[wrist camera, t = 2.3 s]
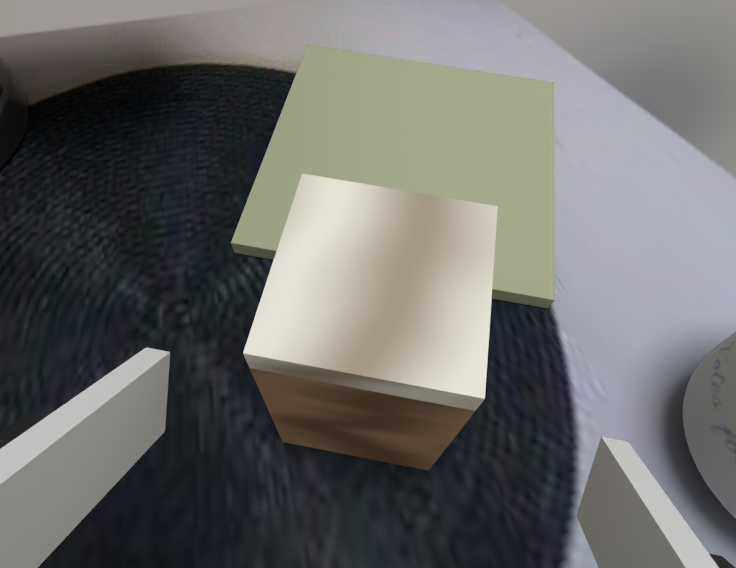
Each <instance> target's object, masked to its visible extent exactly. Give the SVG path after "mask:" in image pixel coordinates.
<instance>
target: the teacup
mask: <svg viewBox="0 0 736 568" xmlns="http://www.w3.org/2000/svg"><path fill="white" fill-rule="evenodd" d="M683 424H684V431H685V436H686V440H687V443H688V446H689V449H690V452H691V455H692V457H693V459H694V462H695V464H696V466H697V468H698V470H699V472H700V474H701V475H702V477H703V479H704V481H705V482H706V484H707V485H708V487H709V488H710V489H711V491H712V492H713V493H714V495H715V496H716V497H717V499H718V500H719V501H720V502H721V504H722V505H723V506H724V507H725V508H726V509H727V510H728V512H729V513H730V514H731V515H732V516H733V517H734V518H735V519H736V332H735V333H734V334H732V335H731V336H730V337H728V338H727V339H726V340H724V341H723V342H722V343H720V344H719V345H718V346H716V347H715V348H714V349H713V350H712V351H711V352H710V353H709V354H708V355H707V356H705V358H704V359H703V360H702V361H701V362H700V363H699V365H698V366H697V368H696V369H695V371H694V373H693V374H692V376H691V377H690V380H689V382H688V385H687V388H686V392H685V396H684V401H683Z"/></svg>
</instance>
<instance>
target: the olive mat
mask: <svg viewBox="0 0 736 568" xmlns="http://www.w3.org/2000/svg"><path fill="white" fill-rule="evenodd" d="M302 174H308V175H314V176H320V177H326V178H332V179H338V180H344V181H350V182H356V183H362V184H368V185H374V186H380V187H386V188H392V189H398V190H404V191H410V192H416V193H422V194H428V195H434V196H440V197H446V198H452V199H457V200H463V201H469V202H475V203H481V204H487V205H493V206H498V210H497V225H496V240H495V255H494V270H493V285H492V299H498V300H503V301H509V302H514V303H520V304H526V305H531V306H537V307H543V308H549V306H550V305H551V304H552V303H553V301H554V83H553V82H547V81H540V80H534V79H527V78H521V77H514V76H508V75H501V74H495V73H488V72H482V71H475V70H469V69H462V68H456V67H449V66H443V65H436V64H430V63H423V62H417V61H410V60H404V59H397V58H391V57H384V56H378V55H371V54H365V53H358V52H352V51H345V50H339V49H332V48H326V47H319V46H313V45H307V48H306V50H305V53H304V55H303V58H302V61H301V63H300V66H299V68H298V71H297V73H296V76H295V79H294V81H293V84H292V86H291V89H290V92H289V94H288V97H287V99H286V102H285V104H284V107H283V110H282V112H281V115H280V117H279V120H278V123H277V125H276V128H275V130H274V133H273V135H272V138H271V141H270V143H269V146H268V148H267V151H266V154H265V156H264V159H263V161H262V164H261V166H260V169H259V172H258V174H257V177H256V179H255V182H254V185H253V187H252V190H251V192H250V195H249V197H248V200H247V203H246V205H245V208H244V210H243V213H242V216H241V218H240V221H239V223H238V226H237V228H236V231H235V234H234V236H233V239H232V241H231V244H232V247H233V250H234V253H239V254H244V255H250V256H256V257H261V258H267V259H272V260H274V257H275V254H276V251H277V248H278V245H279V242H280V239H281V236H282V233H283V230H284V227H285V224H286V221H287V218H288V215H289V212H290V209H291V206H292V203H293V200H294V197H295V193H296V190H297V187H298V184H299V181H300V178H301V175H302Z"/></svg>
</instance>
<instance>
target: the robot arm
mask: <svg viewBox="0 0 736 568" xmlns="http://www.w3.org/2000/svg"><path fill="white" fill-rule="evenodd" d="M28 115H29V110H28V103H27V99H26V96H25V94H24V92H23V90H22V89H21V87H20V86H19V84H18V83H17V81H16V79H15V78H14V76H13V75H12V73H11V72H10V70H9V69H8V67H7V66H6V64H5V63H4V62H3V61H2V60H1V58H0V168H1V167H2V166H3V165H4V164H5V163H6V162H7V161H8V160H9V158H10V157H11V156H12V155H13V153H14V152H15V150H16V149H17V147H18V145H19V144H20V142H21V140H22V138H23V136H24V133H25V130H26V127H27V123H28ZM169 362H170V352H167V351H162V350H157V349H152V348H145V349H143V350H142V351H140V352H139V353H138V354H136V355H135V356H133V357H132V358H130V359H129V360H128V361H126V362H125V363H123V364H122V365H120V366H119V367H117V368H116V369H115V370H113V371H112V372H110V373H109V374H107V375H106V376H104V377H103V378H102V379H100V380H99V381H97V382H96V383H94V384H93V385H92V386H90V387H89V388H87V389H86V390H84V391H83V392H81V393H80V394H79V395H77V396H76V397H74V398H73V399H71V400H70V401H68V402H67V403H66V404H64V405H63V406H61V407H60V408H58V409H57V410H56V411H54V412H53V413H51V414H50V415H48V416H47V417H45V418H42V417H37V416H33V417H30V418H28V419H25V420H22V421H20V422H17V423H14V424H12V425H10V426H8V427H7V428H5V429H4V430H2V431H1V432H0V568H38V567H39V566H40V564H41V563H42V562H43V561H44V560H45V559H46V558H47V557H48V556H49V555H50V554H51V553H52V552H53V551H54V549H55V548H56V547H57V546H58V545H59V544H60V543H61V542H62V541H63V540H64V539H65V538H66V537H67V536H68V534H69V533H70V532H71V531H72V530H73V529H74V528H75V527H76V526H77V525H78V524H79V523H80V522H81V521H82V519H83V518H84V517H85V516H86V515H87V514H88V513H89V512H90V511H91V510H92V509H93V508H94V507H95V506H96V504H97V503H98V502H99V501H100V500H101V499H102V498H103V497H104V496H105V495H106V494H107V493H108V492H109V491H110V489H111V488H112V487H113V486H114V485H115V484H116V483H117V482H118V481H119V480H120V479H121V478H122V477H123V476H124V474H125V473H126V472H127V471H128V470H129V469H130V468H131V467H132V466H133V465H134V464H135V463H136V462H137V461H138V459H139V458H140V457H141V456H142V455H143V454H144V453H145V452H146V451H147V450H148V449H149V448H150V447H151V446H152V444H153V443H154V442H155V441H156V440H157V439H158V438H159V437H160V436H161V435H162V434H163V433H164V432H165V422H166V407H167V392H168V377H169ZM577 518H578V520H579V523H580V525H581V527H582V530H583V532H584V534H585V537H586V539H587V541H588V544H589V546H590V548H591V551H592V553H593V555H594V557H595V560H596V562H597V564H598V567H599V568H735V567H734V566H733V565H731V564H730V563H729V562H728V561H727V560H726V559H724V558H723V557H722V556H718V555H713V554H709V553H708V552H707V550H706V549H705V548H704V546H703V545H702V543H701V542H700V541H699V539H698V538H697V537H696V535H695V534H694V532H693V531H692V530H691V528H690V527H689V526H688V524H687V523H686V521H685V520H684V519H683V517H682V516H681V514H680V513H679V512H678V510H677V509H676V508H675V506H674V505H673V503H672V502H671V501H670V499H669V498H668V496H667V495H666V494H665V492H664V491H663V490H662V488H661V487H660V485H659V484H658V483H657V481H656V480H655V479H654V477H653V476H652V474H651V473H650V472H649V470H648V469H647V467H646V466H645V465H644V463H643V462H642V461H641V459H640V458H639V456H638V455H637V454H636V452H635V451H634V449H633V448H632V447H631V445H630V444H629V443H628V442H627V441H621V440H616V439H611V438H606V437H601V439H600V443H599V446H598V449H597V452H596V455H595V458H594V462H593V465H592V468H591V471H590V474H589V477H588V481H587V484H586V487H585V490H584V493H583V497H582V500H581V503H580V506H579V509H578V512H577Z"/></svg>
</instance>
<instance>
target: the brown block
mask: <svg viewBox="0 0 736 568" xmlns="http://www.w3.org/2000/svg"><path fill="white" fill-rule="evenodd" d="M497 210H498V206H493V205H487V204H481V203H475V202H469V201H463V200H457V199H452V198H446V197H440V196H434V195H428V194H422V193H416V192H410V191H404V190H398V189H392V188H386V187H380V186H374V185H368V184H362V183H356V182H350V181H344V180H338V179H332V178H326V177H320V176H314V175H308V174H302V175H301V178H300V181H299V184H298V187H297V190H296V193H295V197H294V200H293V203H292V206H291V209H290V212H289V215H288V218H287V221H286V224H285V227H284V230H283V233H282V236H281V239H280V242H279V245H278V248H277V251H276V254H275V257H274V260H273V264H272V267H271V270H270V273H269V276H268V279H267V282H266V285H265V288H264V291H263V294H262V297H261V300H260V303H259V306H258V309H257V312H256V315H255V318H254V321H253V324H252V327H251V331H250V334H249V337H248V340H247V343H246V346H245V349H244V352H243V354H244V356H245V359H246V361H247V363H248V366H249V368H250V370H251V372H252V375H253V377H254V379H255V381H256V384H257V386H258V388H259V390H260V393H261V395H262V397H263V399H264V402H265V404H266V406H267V408H268V411H269V413H270V415H271V417H272V420H273V422H274V424H275V426H276V429H277V431H278V433H279V435H280V438H281V440H282V442H285V443H291V444H296V445H301V446H306V447H311V448H316V449H321V450H326V451H331V452H336V453H341V454H346V455H351V456H356V457H362V458H367V459H372V460H377V461H382V462H387V463H392V464H397V465H402V466H407V467H412V468H417V469H422V470H427V471H429V469H430V468H431V467H432V466H433V464H434V463H435V462H436V460H437V459H438V458H439V457H440V455H441V454H442V453H443V451H444V450H445V449H446V448H447V446H448V445H449V444H450V443H451V441H452V440H453V439H454V437H455V436H456V435H457V434H458V432H459V431H460V430H461V429H462V427H463V426H464V425H465V423H466V422H467V421H468V420H469V418H470V417H471V416H472V415H473V413H474V412H475V411H476V409H477V408H478V407H479V406H480V404H481V403H482V402H483V400H484V399H485V389H486V374H487V359H488V344H489V330H490V315H491V300H492V285H493V270H494V255H495V240H496V225H497Z"/></svg>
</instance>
